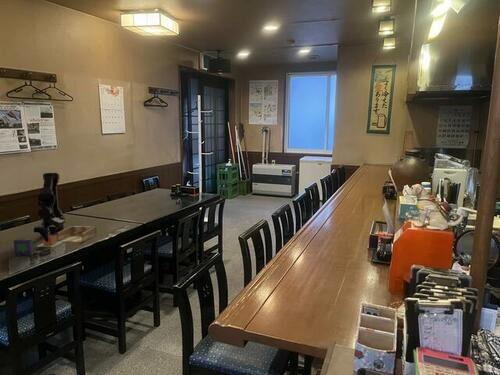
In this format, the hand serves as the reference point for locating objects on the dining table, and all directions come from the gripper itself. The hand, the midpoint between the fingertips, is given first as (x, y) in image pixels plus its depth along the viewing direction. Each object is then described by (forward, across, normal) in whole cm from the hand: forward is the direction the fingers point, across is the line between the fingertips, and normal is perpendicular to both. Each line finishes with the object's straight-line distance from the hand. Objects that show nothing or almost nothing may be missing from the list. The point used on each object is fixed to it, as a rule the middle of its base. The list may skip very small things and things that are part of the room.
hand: (50, 240), depth 206 cm
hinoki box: (+3, +13, -9) cm, 16 cm away
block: (+2, 0, 0) cm, 2 cm away
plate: (+3, 0, 0) cm, 3 cm away
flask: (+4, -17, +4) cm, 17 cm away
